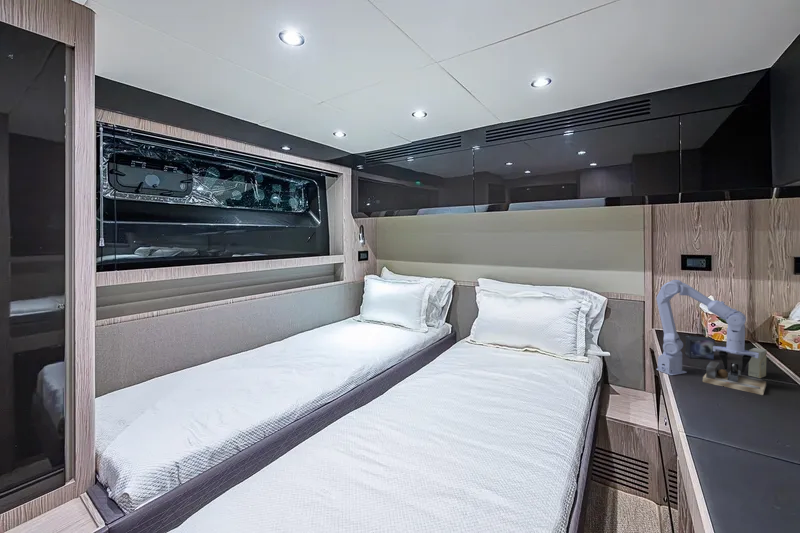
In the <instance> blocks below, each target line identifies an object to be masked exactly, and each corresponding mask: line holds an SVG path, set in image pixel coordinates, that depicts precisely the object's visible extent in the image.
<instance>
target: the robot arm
mask: <svg viewBox="0 0 800 533" xmlns="http://www.w3.org/2000/svg"><path fill="white" fill-rule="evenodd" d="M677 294H679V296H688V297H690V298H692V299H693V300H695V301H697V302H698V303H700V304H703V305H704V306H706V308H707V310H708V311H709V312H710V313H712V314H714V315H716V316H717V317H719V318H720V319H722V320H723V321H725V322H726V324H727V329H726V346H720V345H717V346H716V345H714V346H713V351H714V352H718V356H719V357H720V359H721V361H722V364H723V367H724V370H728V368H729V367H728V364H729V363H728V360H729V359H728V356H729V354H731V355H737V356H738V355H739V356H742V360H741V361H742V365H741V366H742V367H741V373H743V374H744V373H745V372H746V367H747V365H748V364H749V361H750V359H751V357H755V358H759V353H757V352H752V351H749V350H746V349H745V341H746V325H745V324H746V321H747V317H746V315H745V314H744V313H743V312H742V311H740V310H737V308H732V307H730V306H728V305H727V304H725V301H723V300H721V301H720V300H717V299H716V300H712V299H711V298H709V297H708V296H706V295H705V294H703V293H702V292H700V291H699V290H697V289H695V288H694V287H692V286H690V285H689V284H687V283H685V282H683V281H681V280H679V279H672V280H670V281H668V282H666V283H664V284H663V285H662V286H661V287H660V290H659V292H658V294H657V296H656V297H655V298H656V304H657V308H658V312H659V318H660V323H661V326H662V331H663V344H662V349H663V352H662V353H661V354H660V355H658V357H657V368H656V370H657V371H658V372H661V373H664V374H667V375H669V376H675V375H681V374H687V372H688V371H686V370H683V352H682V349H684V348H683V347H684V342H683V341H682V340H681V339H680V335H679V334H678V332H677V328H676V323H675V319H674V313H673V309H672V305H671V300H672V299H673V297H674V296H675V295H677Z"/></svg>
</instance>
